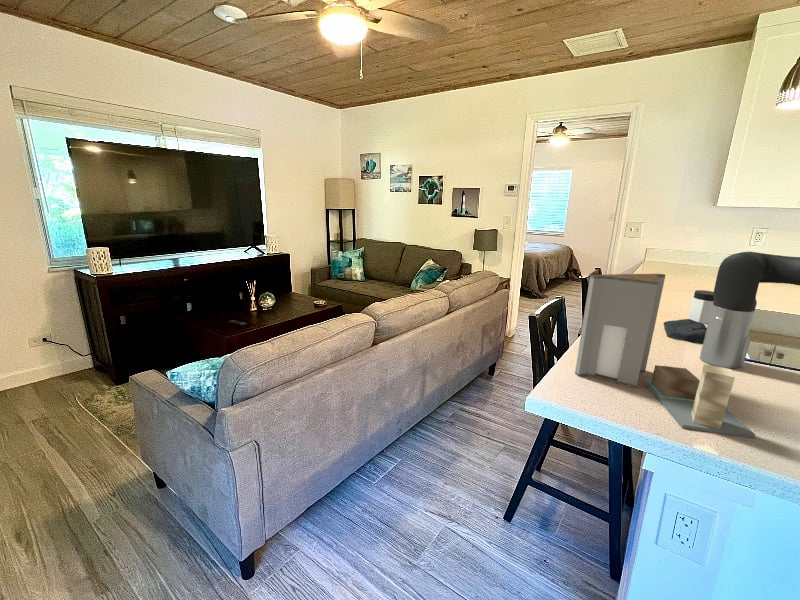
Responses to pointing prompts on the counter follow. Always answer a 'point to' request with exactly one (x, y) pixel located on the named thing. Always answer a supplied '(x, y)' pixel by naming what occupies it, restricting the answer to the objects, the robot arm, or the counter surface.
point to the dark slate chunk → (686, 330)
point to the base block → (675, 382)
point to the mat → (683, 416)
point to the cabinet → (618, 326)
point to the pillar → (712, 396)
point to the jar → (701, 306)
